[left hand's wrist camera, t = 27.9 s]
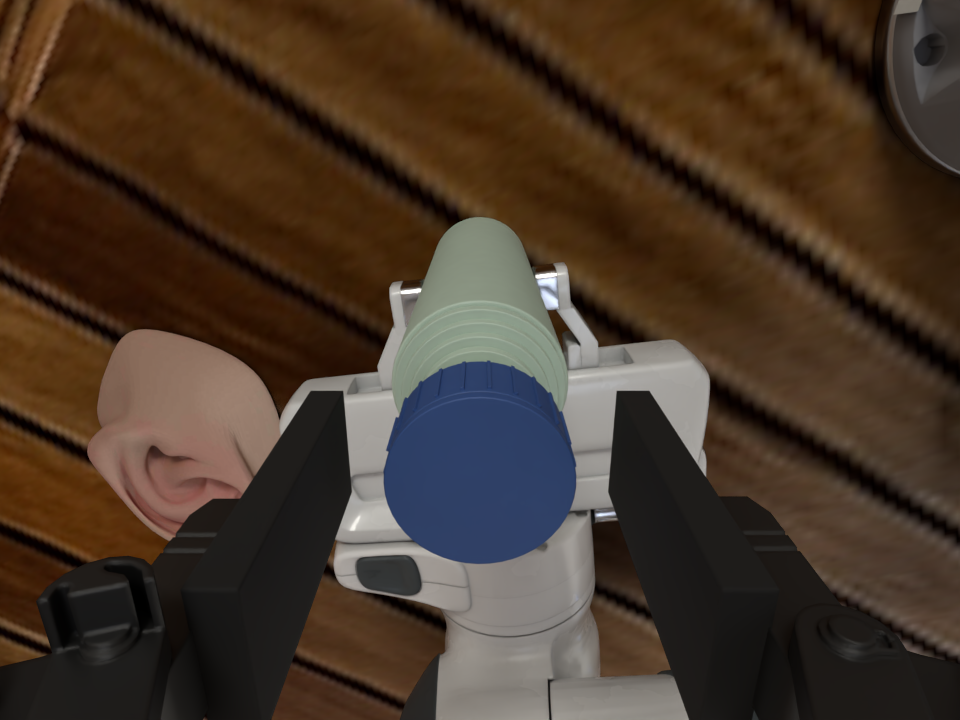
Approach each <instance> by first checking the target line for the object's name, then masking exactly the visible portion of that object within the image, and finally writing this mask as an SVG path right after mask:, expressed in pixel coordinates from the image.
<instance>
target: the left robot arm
mask: <svg viewBox="0 0 960 720" xmlns="http://www.w3.org/2000/svg"><path fill="white" fill-rule="evenodd" d="M875 73H876V81H877V87H878V92H879V96H880V99H881V103H882V106H883V109H884V111H885V114H886V116H887V118H888V121H889V122H890V124H891V126H892V128H893V130H894V131H895V133H896V134H897V136H898V137H899V138H900V140H901V141H902V142H903V143H904V145H905V146H906V147H907V148H908V149H909V150H910V151H911V152H912V153H913V154H915V155H916V156H917V157H918V158H919V159H921V160H922V161H923V162H925V163H927V164H928V165H930V166H931V167H933V168H935V169H937V170H939V171H942V172H944V173H946V174H949V175H952V176H955V177H959V178H960V0H883V3H882V6H881V10H880V14H879V20H878V25H877V31H876V40H875ZM351 493H352V486H351V475H350V463H349V451H348V439H347V428H346V416H345V404H344V393H343V391H310V392H309V394H308V395H307V397H306V399H305V400H304V402H303V403H302V405H301V406H300V408H299V409H298V411H297V412H296V414H295V415H294V417H293V418H292V420H291V421H290V423H289V425H288V426H287V428H286V429H285V431H284V432H283V434H282V435H281V437H280V438H279V440H278V441H277V443H276V444H275V446H274V447H273V449H272V450H271V452H270V454H269V455H268V457H267V458H266V460H265V461H264V463H263V464H262V466H261V467H260V469H259V470H258V472H257V473H256V475H255V476H254V478H253V480H252V481H251V483H250V484H249V486H248V487H247V489H246V490H245V492H244V493H243V495H242V496H241V498H240V499H212V500H210V501H209V502H207V503H206V504H205V505H203V506H202V507H200V508H199V509H197V510H196V511H194V512H193V513H192V514H190V515H189V516H188V518H187V519H186V520H185V522H184V523H183V524H182V526H181V527H180V528H179V530H178V531H177V532H176V536H175V537H173V538H172V539H171V540H170V542H169V543H168V544H167V545H166V547H165V548H164V552H163V553H160V555H159V556H158V557H157V559H156V560H155V561H154V563H153V564H152V565H150V564H149V563H147V562H146V561H145V560H144V559H140V558H136V557H131V556H121V557H108V558H104V559H101V560H97V561H94V562H90V563H87V564H84V565H82V566H80V567H78V568H76V569H74V570H72V571H70V572H68V573H66V574H64V575H63V576H61V577H60V578H59V579H57V580H56V581H55V582H53V583H52V584H51V585H49V586H48V587H47V588H46V589H45V591H44V592H43V593H42V594H41V596H40V597H39V598H38V600H37V601H36V602H37V606H38V609H39V612H40V615H41V618H42V621H43V624H44V628H45V631H46V634H47V637H48V640H49V643H50V646H51V649H52V654H49V655H46V656H43V657H39V658H35V659H31V660H27V661H22V662H18V663H14V664H10V665H5V666H1V667H0V720H203V718H204V716H205V714H206V713H207V718H208V720H271V718H272V716H273V713H274V710H275V707H276V704H277V702H278V699H279V696H280V693H281V690H282V687H283V685H284V682H285V679H286V676H287V673H288V671H289V668H290V665H291V662H292V659H293V657H294V654H295V651H296V648H297V645H298V642H299V640H300V637H301V634H302V631H303V628H304V626H305V623H306V620H307V617H308V614H309V612H310V609H311V606H312V603H313V600H314V597H315V595H316V592H317V589H318V586H319V583H320V581H321V578H322V575H323V572H324V569H325V567H326V564H327V561H328V558H329V555H330V552H331V550H332V547H333V544H334V541H335V538H336V536H337V533H338V530H339V527H340V524H341V521H342V519H343V516H344V513H345V510H346V507H347V505H348V502H349V499H350V496H351ZM608 493H609V496H610V499H611V502H612V505H613V507H614V510H615V513H616V516H617V519H618V522H619V524H620V527H621V530H622V533H623V536H624V538H625V541H626V544H627V547H628V550H629V552H630V555H631V558H632V561H633V564H634V567H635V569H636V572H637V575H638V578H639V581H640V583H641V586H642V589H643V592H644V595H645V597H646V600H647V603H648V606H649V609H650V612H651V614H652V617H653V620H654V623H655V626H656V628H657V631H658V634H659V637H660V640H661V642H662V645H663V648H664V651H665V654H666V657H667V659H668V662H669V665H670V668H671V671H672V673H673V676H674V679H675V682H676V685H677V687H678V690H679V693H680V696H681V699H682V702H683V704H684V707H685V710H686V713H687V716H688V718H689V720H752V718H753V713H754V711H755V713H756V715H757V717H758V719H759V720H960V664H957V663H953V662H949V661H945V660H940V659H936V658H932V657H928V656H923V655H919V654H916V653H913V652H910V651H907V650H906V648H905V647H904V645H903V644H902V642H901V641H900V639H899V638H898V636H896V635H895V634H894V633H893V632H892V631H891V630H889V629H888V628H887V627H886V626H885V625H883V624H882V623H881V622H879V621H877V620H876V619H874V618H872V617H870V616H868V615H866V614H865V613H863V612H861V611H858V610H855V609H851V608H848V607H845V606H842V605H841V604H840V603H839V602H838V601H837V599H836V598H835V597H834V595H833V594H832V593H831V591H830V590H829V589H828V587H827V586H826V585H825V583H824V582H823V581H822V580H821V578H820V577H819V576H818V574H817V573H816V572H815V570H814V569H813V568H812V566H811V565H810V564H809V563H808V561H807V560H806V559H805V557H804V556H803V555H802V553H801V552H800V551H797V547H796V545H795V544H794V543H793V542H792V540H791V539H790V538H789V536H788V535H785V531H784V530H783V528H782V527H781V526H780V524H779V523H778V522H777V521H776V519H775V518H774V517H773V515H772V514H771V513H770V512H769V511H767V510H766V509H764V508H763V507H762V506H760V505H759V504H757V503H756V502H754V501H753V500H751V499H750V498H748V497H719V496H718V495H717V493H716V492H715V490H714V489H713V487H712V486H711V484H710V483H709V481H708V480H707V478H706V476H705V475H704V473H703V472H702V470H701V469H700V467H699V466H698V464H697V463H696V461H695V460H694V458H693V457H692V455H691V454H690V452H689V451H688V449H687V447H686V446H685V444H684V443H683V441H682V440H681V438H680V437H679V435H678V434H677V432H676V431H675V429H674V428H673V426H672V425H671V423H670V421H669V420H668V418H667V417H666V415H665V414H664V412H663V411H662V409H661V408H660V406H659V405H658V403H657V402H656V400H655V399H654V397H653V396H652V394H651V392H650V391H617V393H616V404H615V416H614V428H613V439H612V451H611V463H610V475H609V486H608Z"/></svg>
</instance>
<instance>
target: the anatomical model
mask: <svg viewBox="0 0 960 720" xmlns="http://www.w3.org/2000/svg"><path fill="white" fill-rule="evenodd" d="M97 412H98V419H99V422H100V424H101V427H102V429H101V430H100V431H99V432H98V433H96V434H95V435H94V437H93V438H92V439H91V441H90V443H89V445H88V456H89V458H90V461H91V462H92V463H93V465H94V466H95V468H96V469H97V470H98V471H99V473H100V474H101V475H102V476H103V477H104V479H105V480H106V481H107V482H108V483H109V485H110V486H111V487H112V488H113V489H114V491H115V492H116V493H117V494H118V495H119V497H120V498H121V499H122V500H123V501H124V502H125V504H126V505H127V506H128V507H129V508H130V509H131V511H132V512H133V513H134V514H135V515H136V516H137V517H138V518H139V519H140V520H141V521H142V522H143V523H144V524H145V525H147V526H148V527H149V528H150V529H151V530H153V531H154V532H155V533H157V534H158V535H160V536H161V537H163V538H165V539H167V540H168V541H170V540H171V539H172V538H173V537H175V536H176V532H177V531H178V530H179V528H180V527H181V526H182V524H183V523H184V522H185V520H186V519H187V518H188V516H189V515H190V514H192V513H193V512H194V511H196V510H197V509H199V508H200V507H202V506H203V505H205V504H206V503H207V502H209V501H210V500H212V499H240V498H241V496H242V495H243V493H244V492H245V490H246V489H247V487H248V486H249V484H250V483H251V481H252V480H253V478H254V476H255V475H256V473H257V472H258V470H259V469H260V467H261V466H262V464H263V463H264V461H265V460H266V458H267V457H268V455H269V454H270V452H271V450H272V449H273V447H274V446H275V444H276V443H277V441H278V440H279V438H280V437H281V436H280V430H279V423H280V420H279V417H278V414H277V411H276V408H275V406H274V403H273V400H272V398H271V396H270V394H269V392H268V390H267V388H266V386H265V385H264V383H263V382H262V380H261V379H260V378H259V376H258V375H257V374H256V373H255V372H254V371H253V370H252V369H251V368H249V367H248V366H247V365H246V364H245V363H243V362H242V361H240V360H239V359H237V358H235V357H234V356H232V355H230V354H228V353H226V352H224V351H222V350H220V349H218V348H216V347H213V346H211V345H208V344H206V343H203V342H200V341H197V340H194V339H191V338H188V337H184V336H180V335H177V334H173V333H169V332H163V331H158V330H150V329H141V330H135V331H132V332H129V333H128V334H126V335H125V336H124V337H123V338H122V339H121V340H120V341H119V343H118V344H117V346H116V348H115V349H114V351H113V353H112V356H111V358H110V361H109V363H108V366H107V368H106V371H105V374H104V376H103V379H102V383H101V388H100V393H99V399H98V407H97Z"/></svg>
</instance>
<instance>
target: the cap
mask: <svg viewBox="0 0 960 720" xmlns="http://www.w3.org/2000/svg"><path fill="white" fill-rule="evenodd" d="M571 444H572V442H571V439H570V436H569V432H568V429H567V426H566V422H565V419H564V415H563V412H562V411H560V412H559V409H558V407H557V405H556V403H555V402H554V399H553V395H552V393H551V392H549V393H548V392H547V391H546V389H545V388H544V387H543V386H542V385H541V384H540V383H538V382H537V381H536V378H535V377H534V376H533V377H530V376H529V375H527V374H526V373H524V372H522V371H520V370H518V369H516V368H515V367H514V366H512V365H511V367H510V366H507V365H504V364H499V363H494V362H491V361H489V360H487V362H484V361H478V362H466V361H464V362H462V363H460V364H456V365H453V366H449V367H447V368H444V369H442V368H441V369H439V371H438V372H436V373H434V374H433V375H431V376H429V377H428V378H427V379H425V380H424V381H420V382H419V384H418V386H417V387H416V388H415V389H414V390H413V391H412V393H411V394H410V396H409V397H408V398H406V397H405V399H404V401H403V405H402V408H401V412H400V415H399V417H396V418H395V422H394V425H393V428H392V432H391V435H390V438H389V442H388V445H387V449H386V451H388V455H387V459H386V463H385V467H384V470H383V474H384V481H383V483H384V492H385V497H386V500H387V504H388V506H389V509H390V511H391V513H392V515H393V517H394V519H395V520H396V522H397V524H398V525H399V526H400V527H401V529H402V530H403V531H404V532H405V533H406V534H407V535H408V536H409V537H410V538H411V539H412V540H413V541H414V542H416V543H417V544H418V545H420V546H421V547H422V548H424V549H426V550H428V551H429V552H431V553H433V554H436V555H438V556H440V557H443V558H446V559H449V560H452V561H457V562H462V563H470V564H491V563H498V562H503V561H507V560H511V559H514V558H517V557H520V556H522V555H525V554H527V553H529V552H531V551H532V550H534V549H536V548H537V547H539V546H540V545H542V544H543V543H545V542H546V541H547V540H548V539H549V538H550V537H551V536H553V534H554V533H555V532H556V531H557V530H558V529H559V528H560V526H561V525H562V523H563V522H564V520H565V519H566V517H567V515H568V513H569V511H570V509H571V507H572V503H573V500H574V497H575V491H576V469H575V467H576V461H575V458H574V454H573V451H572V447H571Z"/></svg>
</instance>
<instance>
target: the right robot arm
mask: <svg viewBox="0 0 960 720" xmlns="http://www.w3.org/2000/svg"><path fill="white" fill-rule="evenodd" d="M532 269H533V275H534V277H535V280H536V283H537V285H538V288H539V291H540V293H541V296H542V299H543V301H544V304H545V307H546V309H547V310H557V312H558V313H559V315H560V316H561V317H562V319H563V320H564V321H565V323H566V324H567V326H568V327H569V328H570V330H571V331H565V332H563V333H562V341H563V351H562V352H563V355H564V357H565V361H566V365H567V371H568V392H567V398H566V402H565V405H564V408H563V411H562V412H563V415H564V419H565V422H566V426H567V429H568V432H569V436H570V439H571V442H572V444H571V447H572V451H573V454H574V458H575V461H576V467H575V469H576V491H575V497H574V500H573V503H572V507H571V509H570V511H569V513H568V515H567V517H566V519H565V520H564V522H563V523H562V525H561V526H560V528H559V529H558V530H557V531H556V532H555V533H554V534H553V536H551V537H550V538H549V539H548V540H547V541H546V542H545V543H543V544H542V545H540V546H539V547H537V548H536V549H534V550H532V551H531V552H529V553H527V554H525V555H522V556H520V557H517V558H514V559H511V560H507V561H503V562H498V563H491V564H470V563H462V562H457V561H452V560H449V559H446V558H443V557H440V556H438V555H436V554H433V553H431V552H429V551H428V550H426V549H424V548H422V547H421V546H420V545H418V544H417V543H416V542H414V541H413V540H412V539H411V538H410V537H409V536H408V535H407V534H406V533H405V532H404V531H403V530H402V529H401V527H400V526H399V525H398V524H397V522H396V520H395V519H394V517H393V515H392V513H391V511H390V509H389V506H388V504H387V500H386V497H385V492H384V483H383V481H384V474H383V470H384V467H385V463H386V459H387V455H388V451H386V449H387V445H388V442H389V438H390V435H391V432H392V428H393V425H394V422H395V418H396V417H399V413H398V410H397V408H396V405H395V402H394V397H393V393H392V370H393V366H394V361H395V358H396V355H397V352H398V350H399V347H400V344H401V342H402V339H403V336H404V334H405V331H406V328H407V326H408V323H409V320H410V318H411V315H412V312H413V310H414V307H415V304H416V302H417V299H418V296H419V294H420V291H421V288H422V286H423V283H424V279H420V280H410V281H399V282H393V283H392V284H391V286H390V302H391V308H392V314H393V320H394V326H393V328H392V330H391V333H390V336H389V338H388V341H387V343H386V346H385V348H384V351H383V353H382V356H381V358H380V361H379V364H378V366H377V367H378V372H372V373H363V374H354V375H345V376H336V377H327V378H317V379H310V380H307V381H305V382H304V383H303V384H302V385H301V386H300V387H299V389H298V390H297V391H296V392H295V393H294V395H293V396H292V397H291V399H290V400H289V402H288V403H287V405H286V407H285V409H284V411H283V413H282V415H281V418H280V423H279V430H280V436H281V435H282V434H283V432H284V431H285V429H286V428H287V426H288V425H289V423H290V421H291V420H292V418H293V417H294V415H295V414H296V412H297V411H298V409H299V408H300V406H301V405H302V403H303V402H304V400H305V399H306V397H307V395H308V394H309V392H310V391H343V393H344V404H345V416H346V428H347V439H348V451H349V463H350V475H351V486H352V493H351V496H350V499H349V502H348V505H347V507H346V510H345V513H344V516H343V519H342V521H341V524H340V527H339V530H338V533H337V536H336V538H335V540H337V544H336V549H335V556H334V571H335V575H336V578H337V580H338V581H339V583H340V584H341V585H343V586H344V587H346V588H349V589H353V590H358V591H363V592H370V593H376V594H382V595H388V596H393V597H399V598H404V599H408V600H413V601H417V602H420V603H424V604H428V605H431V606H434V607H437V608H440V609H441V611H442V613H443V615H444V618H445V620H446V624H447V630H446V636H445V653H443V654H440V653H439V654H438V655H437V656H436V657H435V658H434V659H433V660H432V662H431V663H430V664H429V665H428V667H427V668H426V670H425V671H424V673H423V674H422V676H421V678H420V679H419V681H418V683H417V684H416V686H415V688H414V689H413V691H412V693H411V694H410V696H409V697H408V699H407V702H406V704H405V707H404V709H403V712H402V715H401V718H400V720H689V718H688V716H687V713H686V710H685V707H684V704H683V702H682V699H681V696H680V693H679V690H678V687H677V685H676V682H675V679H674V676H673V673H672V671H671V670H666V671H661V672H659V673H658V674H656V675H636V676H613V677H600V645H599V634H598V629H597V625H596V622H595V619H594V616H593V614H592V612H591V610H590V605H591V601H592V598H593V594H594V588H595V567H594V551H593V537H592V527H591V525H593V523H601V522H611V521H618V519H617V516H616V513H615V510H614V507H613V505H612V502H611V499H610V496H609V493H608V486H609V475H610V463H611V451H612V439H613V428H614V416H615V404H616V393H617V391H650V392H651V394H652V396H653V397H654V399H655V400H656V402H657V403H658V405H659V406H660V408H661V409H662V411H663V412H664V414H665V415H666V417H667V418H668V420H669V421H670V423H671V425H672V426H673V428H674V429H675V431H676V432H677V434H678V435H679V437H680V438H681V440H682V441H683V443H684V444H685V446H686V447H687V449H688V451H689V452H690V454H691V455H692V457H693V458H694V460H695V461H696V463H697V464H698V466H699V467H700V469H701V470H702V472H703V473H704V475H705V476H706V453H705V449H704V447H703V441H704V435H705V429H706V423H707V415H708V406H709V394H710V379H709V375H708V373H707V371H706V369H705V367H704V366H703V364H702V363H701V362H700V361H699V360H698V358H697V357H696V356H695V355H694V354H693V353H691V352H690V351H689V350H688V349H687V348H686V347H684V346H683V345H682V344H681V343H679V342H678V341H676V340H660V341H651V342H642V343H633V344H624V345H615V346H606V347H598V342H597V340H596V338H595V336H594V334H593V333H592V331H591V329H590V327H589V326H588V325H587V323H586V322H585V320H584V319H583V318H582V316H581V315H580V313H579V312H578V311H577V309H576V308H575V306H574V305H573V304H572V302H571V301H570V288H569V275H568V270H567V266H566V265H565V263H564V262H562V263H554V264H545V265H538V266H533V268H532ZM752 720H759V719H758V717H757V715H756V713H755V711H754V713H753V718H752Z"/></svg>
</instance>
